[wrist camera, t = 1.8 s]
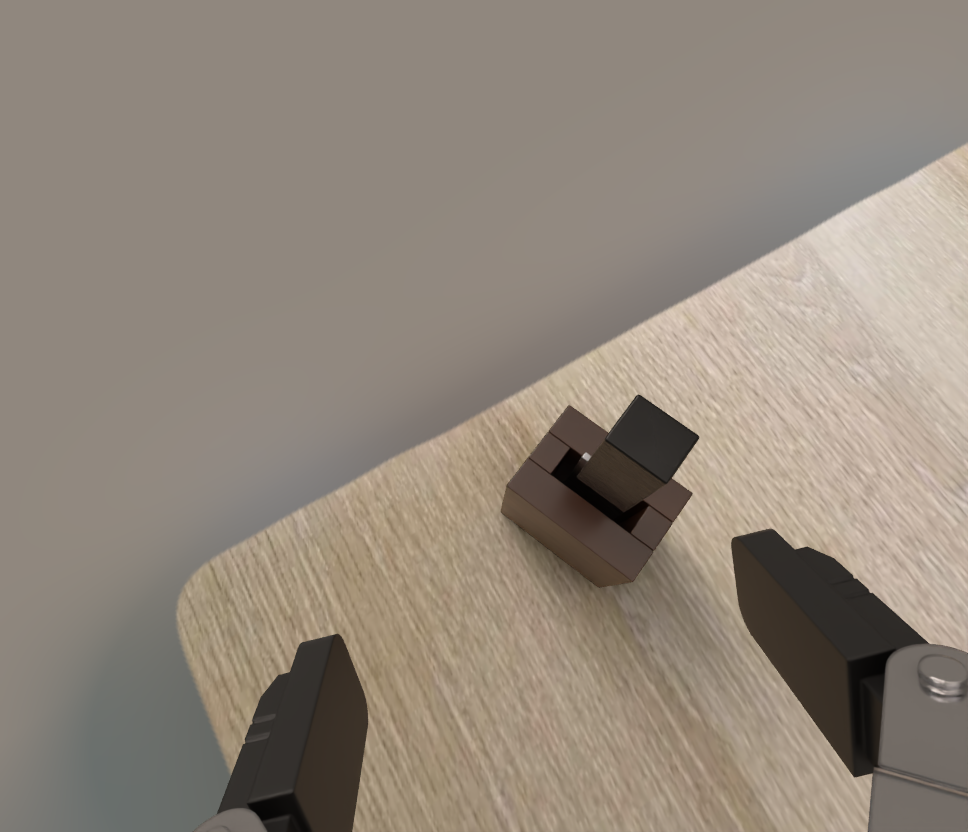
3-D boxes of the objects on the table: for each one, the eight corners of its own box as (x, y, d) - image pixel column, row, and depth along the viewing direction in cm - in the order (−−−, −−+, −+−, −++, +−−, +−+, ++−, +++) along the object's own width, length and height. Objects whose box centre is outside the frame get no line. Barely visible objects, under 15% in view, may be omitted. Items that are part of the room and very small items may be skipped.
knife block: (599, 588, 35) (633, 582, 27) (500, 511, 36) (506, 485, 28) (647, 517, 36) (693, 493, 28) (550, 446, 37) (569, 404, 30)
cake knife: (588, 542, 35) (675, 490, 19) (544, 509, 35) (596, 433, 20) (608, 514, 35) (708, 441, 20) (565, 482, 36) (631, 387, 20)
